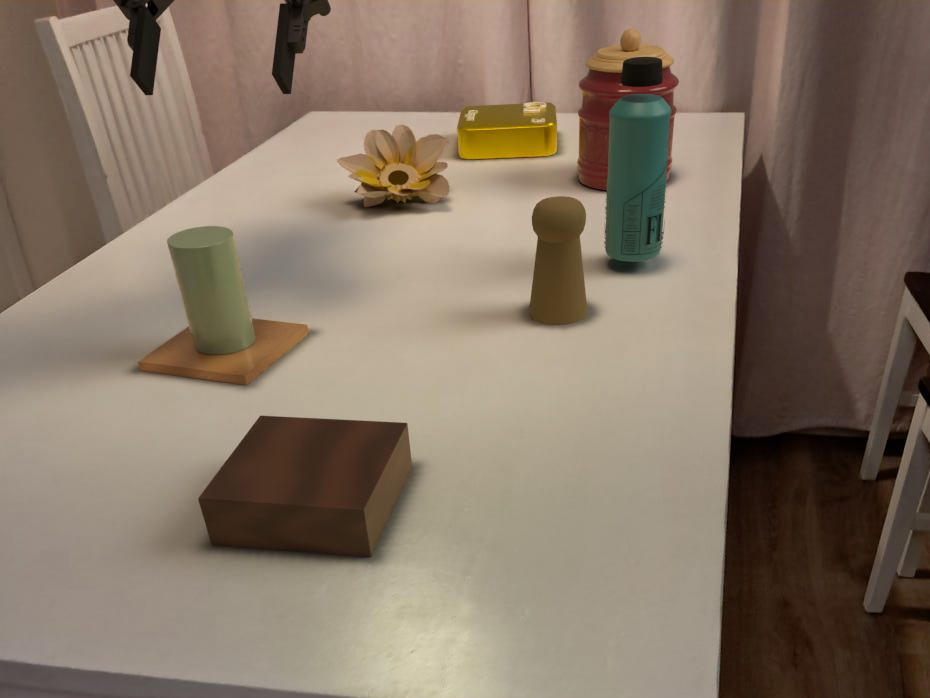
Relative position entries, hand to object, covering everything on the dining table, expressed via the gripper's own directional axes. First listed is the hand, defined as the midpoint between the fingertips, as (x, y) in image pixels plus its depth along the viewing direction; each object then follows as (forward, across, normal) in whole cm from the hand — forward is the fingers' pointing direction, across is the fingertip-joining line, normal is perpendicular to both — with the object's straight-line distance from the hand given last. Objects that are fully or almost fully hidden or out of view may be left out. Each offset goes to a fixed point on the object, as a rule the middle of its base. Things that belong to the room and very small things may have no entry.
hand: (210, 85), depth 83 cm
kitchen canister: (-20, -35, -50) cm, 65 cm away
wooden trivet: (+21, 0, -9) cm, 23 cm away
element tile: (-33, -16, -63) cm, 73 cm away
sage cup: (+20, 0, -8) cm, 22 cm away
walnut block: (+39, -18, +9) cm, 44 cm away
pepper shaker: (+13, -32, -17) cm, 38 cm away
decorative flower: (-12, -5, -42) cm, 44 cm away
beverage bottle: (+3, -38, -27) cm, 47 cm away
